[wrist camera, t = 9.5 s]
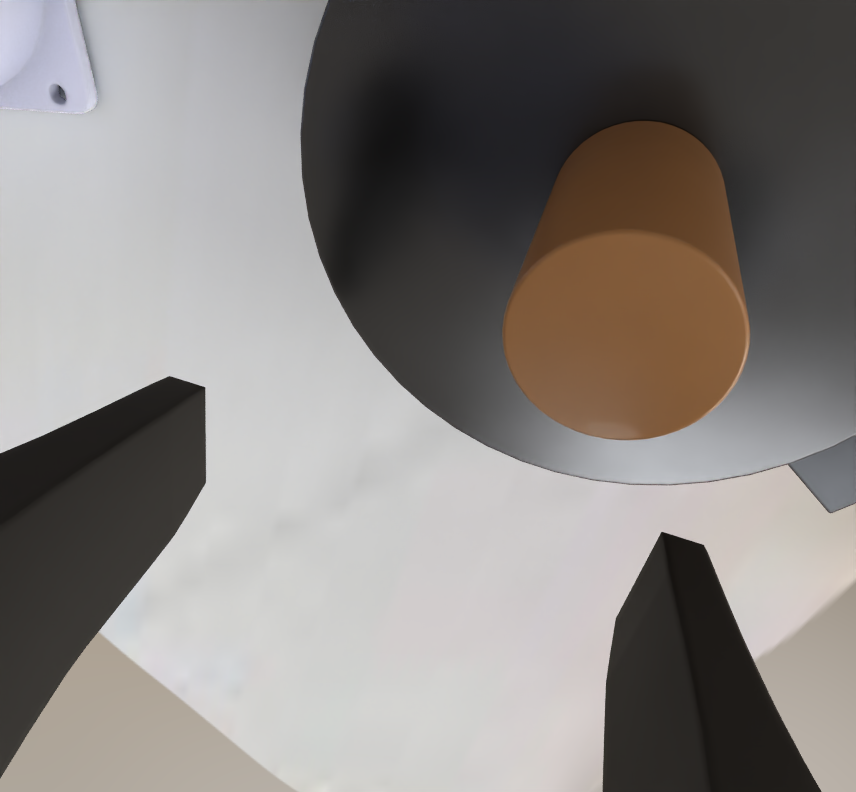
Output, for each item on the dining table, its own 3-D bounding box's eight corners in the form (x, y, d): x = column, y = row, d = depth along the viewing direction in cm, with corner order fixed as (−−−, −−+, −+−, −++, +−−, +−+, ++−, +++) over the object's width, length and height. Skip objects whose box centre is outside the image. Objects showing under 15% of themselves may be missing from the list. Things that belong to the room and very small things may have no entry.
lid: (583, 528, 17) (552, 752, 13) (210, 149, 14) (3, 266, 10) (1202, 229, 11) (1571, 466, 6) (753, -544, 8) (855, -1074, 4)
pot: (663, 438, 22) (661, 606, 17) (266, -2, 18) (106, 42, 13) (1073, 222, 16) (1260, 376, 11) (621, -492, 12) (586, -764, 7)
